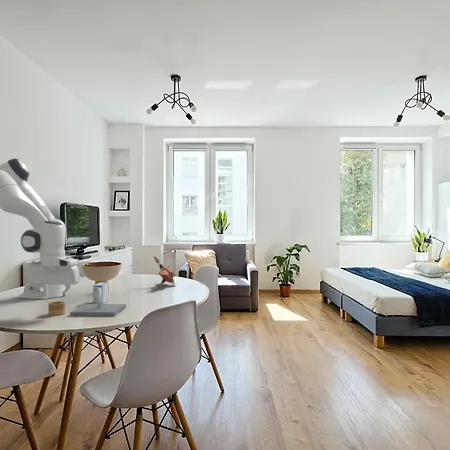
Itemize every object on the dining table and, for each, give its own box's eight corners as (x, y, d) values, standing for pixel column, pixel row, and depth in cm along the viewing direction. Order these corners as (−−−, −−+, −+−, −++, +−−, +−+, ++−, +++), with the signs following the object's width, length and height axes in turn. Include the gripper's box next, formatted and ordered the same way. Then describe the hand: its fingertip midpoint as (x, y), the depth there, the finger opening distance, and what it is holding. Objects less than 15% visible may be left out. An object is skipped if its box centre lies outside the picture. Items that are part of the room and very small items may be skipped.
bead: (45, 315, 144) (45, 304, 144) (53, 312, 150) (53, 301, 150) (60, 315, 143) (60, 304, 143) (67, 312, 149) (67, 301, 149)
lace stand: (70, 315, 143) (69, 290, 143) (85, 307, 157) (85, 284, 157) (114, 316, 142) (114, 290, 142) (126, 307, 156) (125, 284, 156)
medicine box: (99, 300, 171) (99, 282, 171) (108, 300, 171) (108, 282, 171) (92, 304, 163) (92, 285, 163) (102, 304, 163) (102, 285, 163)
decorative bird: (150, 276, 223) (159, 253, 222) (177, 287, 222) (186, 265, 222) (137, 284, 194) (147, 258, 194) (168, 297, 194) (179, 271, 193)
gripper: (23, 261, 143) (24, 296, 143) (73, 262, 142) (74, 297, 142) (33, 260, 150) (33, 293, 150) (81, 260, 148) (81, 293, 148)
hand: (53, 295), depth 146 cm, fingers open, 8 cm apart
